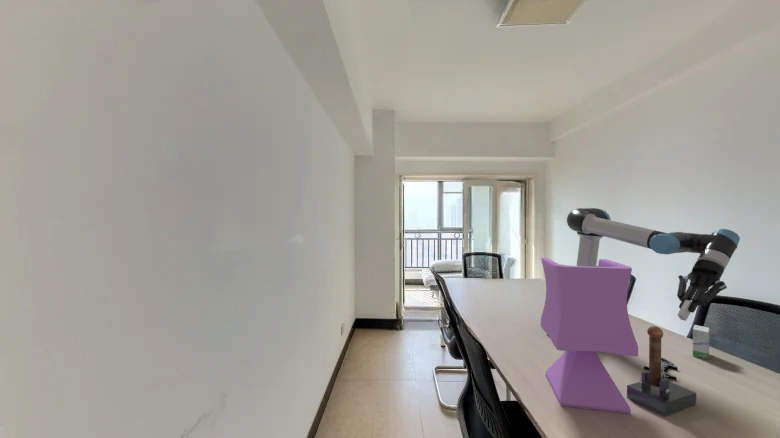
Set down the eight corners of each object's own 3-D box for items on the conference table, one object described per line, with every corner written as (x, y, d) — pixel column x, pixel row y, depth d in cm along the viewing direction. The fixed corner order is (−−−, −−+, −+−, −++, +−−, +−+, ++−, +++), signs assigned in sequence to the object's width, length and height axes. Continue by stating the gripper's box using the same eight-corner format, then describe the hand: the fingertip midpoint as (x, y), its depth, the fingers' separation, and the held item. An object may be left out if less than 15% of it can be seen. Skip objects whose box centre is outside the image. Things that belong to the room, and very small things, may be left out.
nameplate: (646, 353, 138) (677, 360, 131) (646, 357, 138) (677, 364, 131) (641, 378, 117) (678, 388, 111) (641, 382, 117) (678, 392, 111)
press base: (696, 405, 103) (696, 377, 103) (664, 416, 97) (665, 387, 97) (657, 387, 113) (657, 362, 113) (626, 397, 107) (626, 370, 107)
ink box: (708, 360, 134) (708, 332, 134) (692, 356, 138) (692, 329, 138) (709, 353, 140) (709, 327, 140) (693, 350, 144) (694, 324, 143)
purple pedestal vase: (606, 380, 118) (606, 258, 118) (638, 417, 97) (638, 269, 96) (540, 373, 123) (540, 257, 123) (557, 407, 102) (557, 266, 101)
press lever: (666, 386, 103) (666, 327, 102) (658, 389, 101) (658, 329, 101) (652, 380, 106) (652, 323, 106) (644, 382, 105) (644, 325, 105)
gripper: (739, 275, 109) (710, 330, 103) (691, 269, 121) (664, 318, 116) (730, 261, 107) (701, 316, 101) (683, 256, 119) (654, 305, 114)
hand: (681, 317), depth 108 cm, fingers closed
